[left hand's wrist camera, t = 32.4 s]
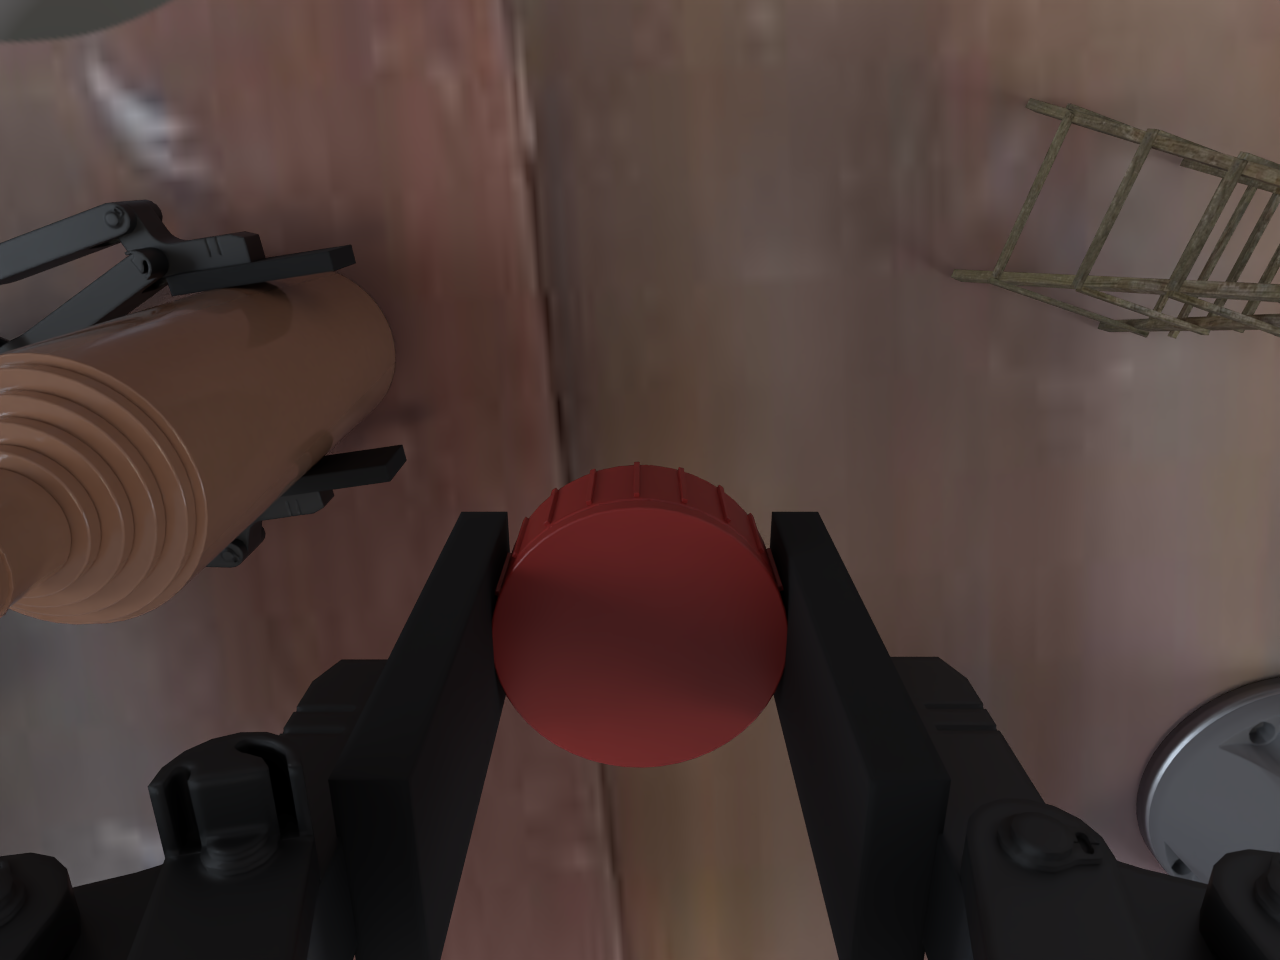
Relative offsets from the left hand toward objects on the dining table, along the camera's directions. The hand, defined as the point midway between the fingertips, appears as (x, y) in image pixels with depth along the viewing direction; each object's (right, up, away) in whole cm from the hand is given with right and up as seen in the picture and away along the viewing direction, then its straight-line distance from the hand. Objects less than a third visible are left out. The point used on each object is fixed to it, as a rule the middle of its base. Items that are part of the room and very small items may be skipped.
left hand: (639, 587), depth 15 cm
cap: (0, -1, -1) cm, 2 cm away
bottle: (-16, +8, +28) cm, 33 cm away
